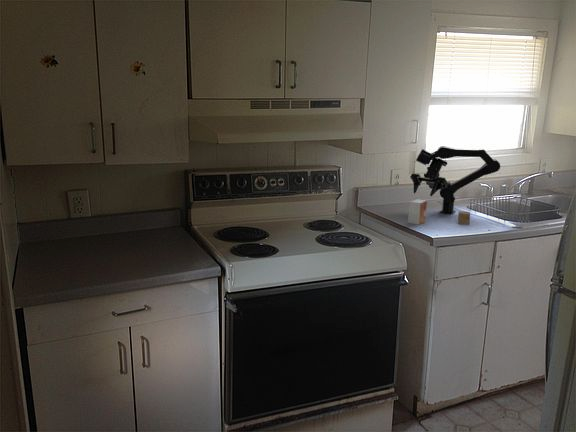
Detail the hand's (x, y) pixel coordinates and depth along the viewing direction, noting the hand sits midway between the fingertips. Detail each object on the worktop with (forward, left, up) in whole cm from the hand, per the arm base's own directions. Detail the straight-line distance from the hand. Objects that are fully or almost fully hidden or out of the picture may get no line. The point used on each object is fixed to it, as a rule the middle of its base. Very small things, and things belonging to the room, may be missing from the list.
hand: (422, 194), depth 269 cm
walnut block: (+1, +22, -11) cm, 24 cm away
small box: (+15, +4, -11) cm, 19 cm away
